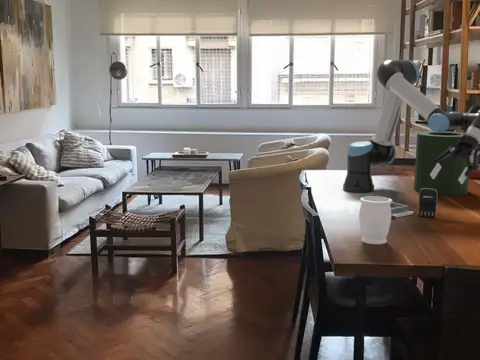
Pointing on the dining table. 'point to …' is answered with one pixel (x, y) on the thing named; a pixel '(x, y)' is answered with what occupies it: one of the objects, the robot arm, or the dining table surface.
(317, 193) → the dining table surface
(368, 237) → the jar
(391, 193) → the dining table surface
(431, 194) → the black rounded block
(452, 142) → the flower pot
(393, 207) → the panel board
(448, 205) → the dining table surface
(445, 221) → the dining table surface
